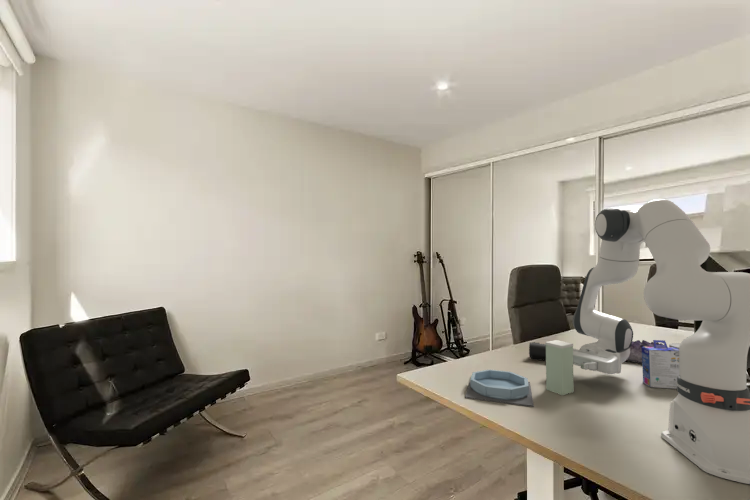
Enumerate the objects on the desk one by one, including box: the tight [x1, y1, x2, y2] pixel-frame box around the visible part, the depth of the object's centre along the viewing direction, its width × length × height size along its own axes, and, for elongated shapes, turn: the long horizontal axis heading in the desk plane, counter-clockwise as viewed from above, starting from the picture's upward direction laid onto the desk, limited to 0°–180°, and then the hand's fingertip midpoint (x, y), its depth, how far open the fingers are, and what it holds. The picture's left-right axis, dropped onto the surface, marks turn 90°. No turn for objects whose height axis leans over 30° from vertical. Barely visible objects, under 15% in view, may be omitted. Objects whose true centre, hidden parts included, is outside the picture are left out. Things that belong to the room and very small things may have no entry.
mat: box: [464, 378, 535, 408], centre depth 114 cm, size 20×19×1 cm
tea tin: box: [544, 339, 574, 396], centre depth 113 cm, size 6×6×15 cm
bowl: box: [470, 369, 529, 400], centre depth 114 cm, size 17×17×3 cm
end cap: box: [528, 341, 546, 362], centre depth 145 cm, size 10×7×7 cm
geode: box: [626, 339, 664, 365], centre depth 144 cm, size 20×12×10 cm, turn 56°
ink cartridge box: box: [641, 339, 679, 390], centre depth 117 cm, size 10×6×14 cm, turn 78°
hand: (568, 362), depth 115 cm, fingers open, 8 cm apart
